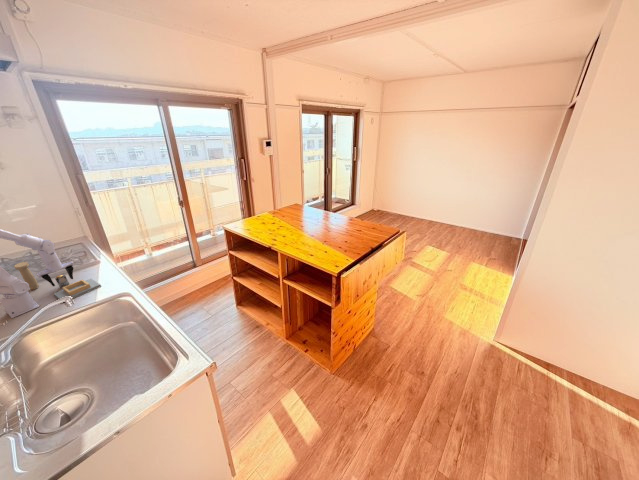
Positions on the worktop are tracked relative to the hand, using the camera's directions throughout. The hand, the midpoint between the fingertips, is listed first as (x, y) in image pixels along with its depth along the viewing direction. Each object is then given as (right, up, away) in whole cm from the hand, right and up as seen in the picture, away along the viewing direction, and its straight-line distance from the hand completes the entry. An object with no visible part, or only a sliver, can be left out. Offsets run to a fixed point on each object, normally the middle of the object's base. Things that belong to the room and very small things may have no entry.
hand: (63, 282), depth 138 cm
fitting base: (+11, -4, -3) cm, 12 cm away
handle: (-15, -3, 0) cm, 15 cm away
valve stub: (0, -2, +1) cm, 3 cm away
